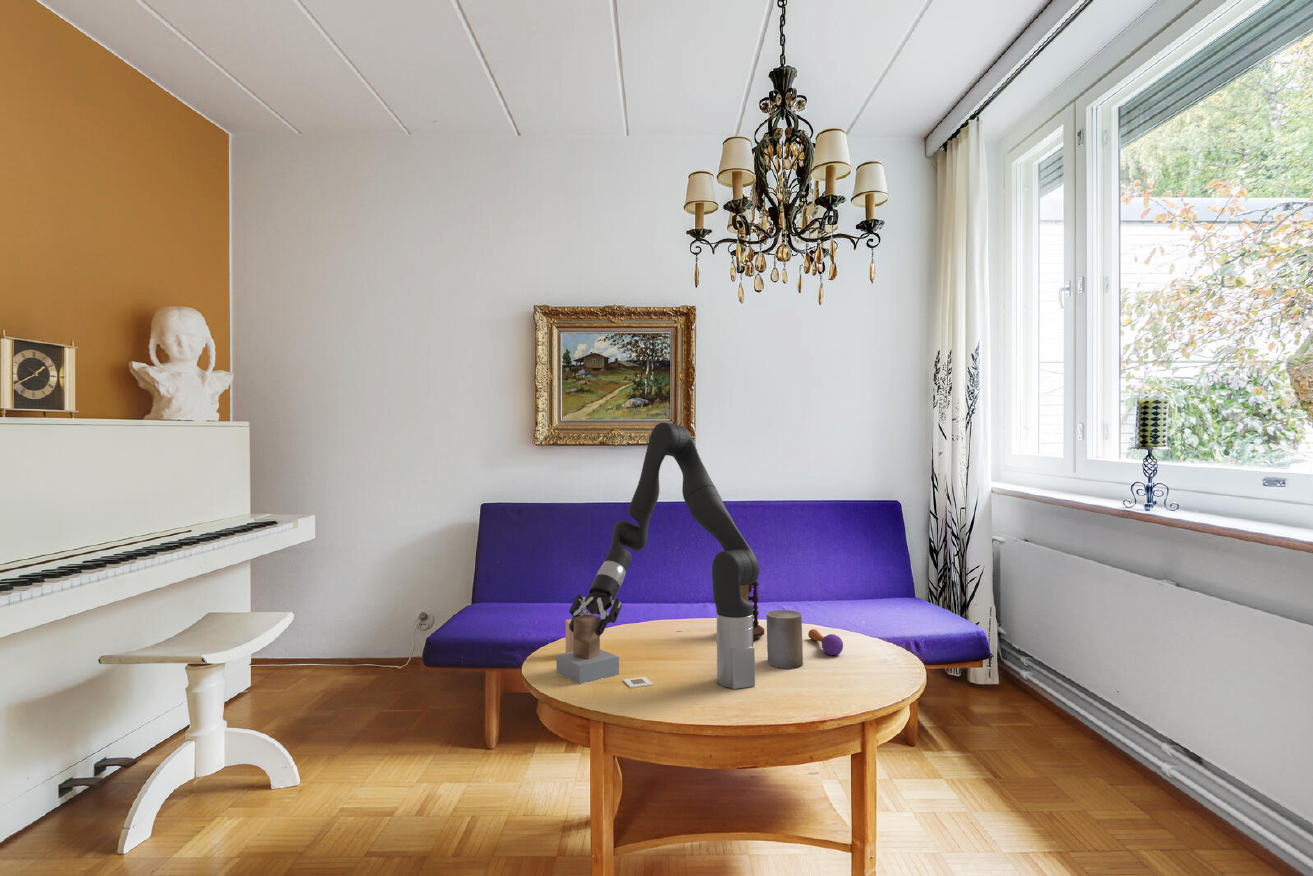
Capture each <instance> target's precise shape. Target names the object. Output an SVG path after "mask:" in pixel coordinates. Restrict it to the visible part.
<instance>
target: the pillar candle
mask: <svg viewBox="0 0 1313 876" xmlns="http://www.w3.org/2000/svg"><path fill="white" fill-rule="evenodd" d="M765 615H766V643H767V644H766V647H767V663H768V665H769V664H770V665H769V666H771V665H772V666H771V667H775V668H778V669H795V668H800V667H801V666H803V665H804V657H803V656H804V655H803V624H802V623H803V622H802V619H803V618H802V613H801V612H799V611H796V610H792V609H791V610H789V609H785V608H784V609H776V610H775V609H774V610H770V611H768V612H766V613H765Z"/></svg>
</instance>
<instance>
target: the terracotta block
mask: <svg viewBox="0 0 1313 876" xmlns="http://www.w3.org/2000/svg"><path fill="white" fill-rule="evenodd" d="M571 620H572V618H571V619H568V618H567V619H565V653H568V652H573V641H574V632H572V631H571V630H570V629H569V624H570V622H571Z"/></svg>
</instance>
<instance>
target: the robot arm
mask: <svg viewBox="0 0 1313 876" xmlns="http://www.w3.org/2000/svg"><path fill="white" fill-rule="evenodd" d="M694 441H695V440H694V439H693V437H692V435H691V433H690V431H689V430H688V429H687V428H686V427H685V426H682V425H680V424H674V423H671V422H659V423H658V424H656V425H655V426H654V427H653V428H652V431H651V433H650V436H649V438H648V443H647V448H646V451H645V456H644V461H643V465H642V469H641V472H640V473H641V474H640V477H639V480H638V483H637V486H636V489H635V491H634V494H633V497H632V499H631V501H630V503H629V506H628V508H627V512H628V515H629V516H630V517H632V518H633V519H634V520H635V521H637V523H638V525H637V524H634V523H631V522H629V521H627V520H622V519H621V520H620V521H617V523H616V524H614V527H613V529H612V536H611V543H610V547H609V550H608V552H607V555H606V557H605V559H604V561H603V563H602V565H601V566H600V568H599V569H598V570H597V573H596V575H595V577H594V580H593V582H592V583H591V586H590V587H589V593H588V595H586V596H582V594H577V595H576V597H575V599H574V601H573V603H572V605H571V607H570V608H569V610H568V613H569V614H570V616H571V617H572V618H571V619H572V620H571V622H570V624H569V629H570V630H571V631H572V632H574V618H576V617H579V616H581V615H584V614H587V615H594V614H596V615H597V616H598V615H599V616H600V621H599V623H598V625H597V627H596V629H595V633H596V635H597V636H600V637H601V636H602V634H604V633H605V630H606V627H607V626H608V624H609V623H611V624H615V623H616V621H617V619H618V617H619V614H620V611H621V609H622V606H623V604H622V602H621V600H619V598H617V596H618V594H619V592H620V590H621V589H620V588H621V587H622V585H623V582H624V580H625V577H626V574H627V571H628V569H629V567H630V565H631V562H632V560H633V556H632V554H631V552H630V551H629V550H627V549H630V550H632V551H635V552H639V551H641V550H643V549H644V548H645V547H646V545H647V542H648V536H649V535H648V534H649V525H650V522H651V521H650V520H651V517H652V515H653V512H654V510H655V508H656V505H657V502H658V501H659V495H660V480H659V479H660V471H661V470H660V469H661V466H662V463H663V461H664V459H665V457H666V456H670V457H673V459H674V460H675V461H676V463H677V465H678V467H679V469H680V472H681V475H682V489H681V490H682V491H681V492H682V497H683V500H684V502H685V504H686V506H687V508H688V511H689V513H690V514H691V517H693V519H694V521H695V522H696V523H697V524H698V525H699V526H701V527H702V529H705V531H706V532H708V533H709V534H710V535H711V536H713V537H714V539H715V540H716V541H717V542H718V543H719V544H720V547H721V548H722V549H723V551H720V552H718V553H716V555H715V556H714V558H713V560H712V563H711V564H712V567H711V578H712V579H711V581H712V595H713V596H712V597H713V602H714V604H715V608H716V669H717V671H716V680H717V684H719V685H720V686H722V687H725V688H731V689H732V690H737V689H745V688H750V687H755V686H756V681H755V680H756V678H755V677H756V674H755V673H756V669H755V668H756V666H755V665H756V663H755V662H756V661H755V658H756V657H755V656H756V655H755V647H754V642H753V621H754V618H753V617H754V615H753V606H754V604H753V602H752V601H751V600H750V601H748V600H745V599H743V598H742V597H741V594H740V586H744V585H748V584H752V583H754V582H755V581H758V579H759V575H760V565H759V561H758V559H757V557H756V554H755V553H754V552H753V550H752V548H751V547H750V546H749V544H748V543H747V541H746V540H745V537H743V535H742V533H741V532H740V530H739V529H738V527H737V525H736V523H735V522H734V519H733V518H732V516H731V514H730V513H729V511H728V509H727V507H726V506H725V503H724V501H723V499H722V497H721V496H720V495H721V494H720V493H719V492H718V490H717V488H716V485H714V482H713V481H712V478H711V477H710V475H709V473H708V471H707V469H706V467H705V465H704V464H703V461H702V458H701V457H700V454H699V452H698V449H697V447H696V443H695V442H694ZM626 548H627V549H626ZM752 604H753V605H752ZM610 608H611V609H610ZM585 609H586V610H585ZM609 609H610V611H609V612H608V610H609Z"/></svg>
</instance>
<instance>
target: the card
mask: <svg viewBox="0 0 1313 876" xmlns="http://www.w3.org/2000/svg"><path fill="white" fill-rule="evenodd" d="M622 682H624V684H626V686H627V687H629V688H630V689H633V688H635V689H636V688H642V687H648V686H653V685H654V683H653V682H652V681H651V680H650V679H649V678H647V677H646V676H640V677H632V678H625V679H624V678H623V679H622Z"/></svg>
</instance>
